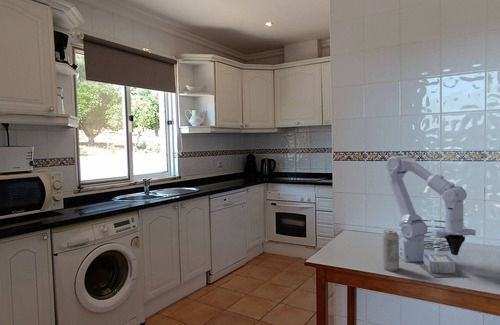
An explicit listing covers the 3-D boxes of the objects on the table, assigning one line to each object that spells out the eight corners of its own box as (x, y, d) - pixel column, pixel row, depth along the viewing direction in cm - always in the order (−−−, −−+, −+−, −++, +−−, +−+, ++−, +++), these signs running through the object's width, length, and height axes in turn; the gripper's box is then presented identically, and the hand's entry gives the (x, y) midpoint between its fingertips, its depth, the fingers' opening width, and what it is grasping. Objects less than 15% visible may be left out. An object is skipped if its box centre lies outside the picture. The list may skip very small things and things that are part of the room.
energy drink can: (394, 265, 130) (394, 228, 130) (402, 271, 124) (401, 232, 124) (379, 266, 130) (379, 229, 129) (386, 272, 124) (386, 233, 123)
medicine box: (455, 261, 119) (430, 261, 121) (455, 273, 119) (430, 273, 121) (447, 254, 127) (423, 254, 128) (447, 265, 127) (423, 265, 129)
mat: (434, 277, 118) (434, 276, 118) (419, 266, 129) (419, 265, 128) (459, 276, 117) (459, 276, 117) (442, 265, 128) (442, 264, 128)
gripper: (440, 222, 118) (441, 258, 119) (481, 220, 117) (481, 257, 118) (430, 217, 125) (430, 252, 126) (468, 216, 124) (468, 250, 125)
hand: (454, 254), depth 122 cm, fingers closed
